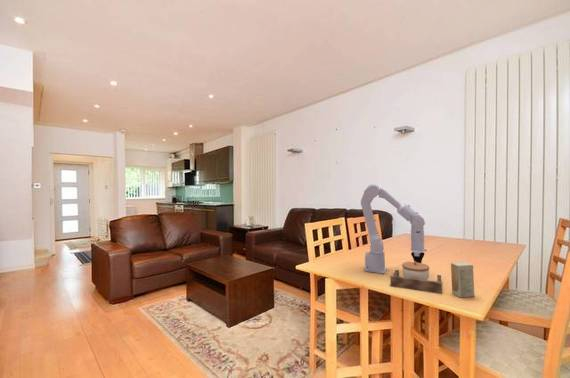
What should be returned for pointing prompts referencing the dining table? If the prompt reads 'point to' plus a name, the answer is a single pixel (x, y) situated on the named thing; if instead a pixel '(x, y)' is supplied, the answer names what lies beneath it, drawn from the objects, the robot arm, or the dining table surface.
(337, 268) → the dining table surface
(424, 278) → the lidded jar
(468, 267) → the skincare box
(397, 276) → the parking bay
